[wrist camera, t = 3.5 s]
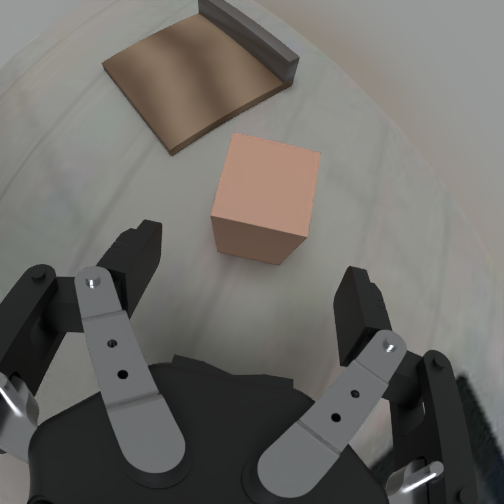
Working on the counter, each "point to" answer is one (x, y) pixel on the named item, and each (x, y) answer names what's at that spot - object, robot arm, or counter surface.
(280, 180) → the carton
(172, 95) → the shelf board
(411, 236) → the counter surface
